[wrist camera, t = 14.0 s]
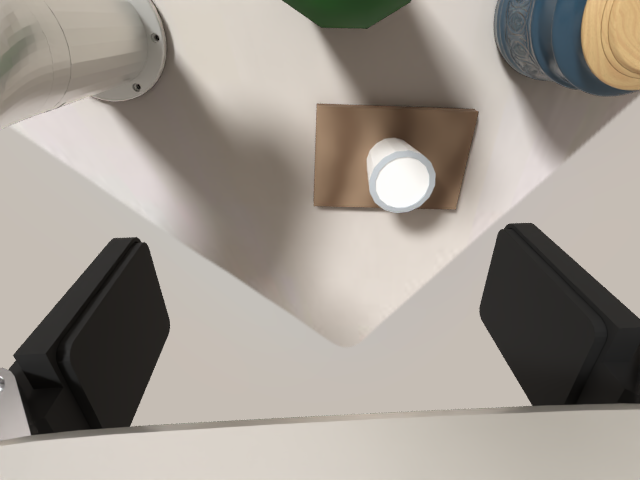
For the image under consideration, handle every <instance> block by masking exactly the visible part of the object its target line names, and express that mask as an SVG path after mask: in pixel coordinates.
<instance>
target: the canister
mask: <svg viewBox="0 0 640 480" xmlns="http://www.w3.org/2000/svg"><path fill="white" fill-rule="evenodd" d="M494 34H495V40H496V44H497V47H498V49H499V51H500V53H501V55H502V57H503V58H504V59H505V61H506V62H507V63H508V64H509V65H510V66H511V67H512V68H513V69H514V70H516V71H517V72H518V73H520V74H522V75H524V76H526V77H529V78H533V79H536V80H542V81H552V82H555V83H557V84H559V85H561V86H563V87H566V88H570V89H576V90H581V91H583V92H586V93H589V94H592V95H597V96H619V95H625V94H629V93H633V92H636V91H639V90H640V0H498V1H497V5H496V9H495V15H494Z"/></svg>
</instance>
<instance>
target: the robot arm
mask: <svg viewBox="0 0 640 480" xmlns="http://www.w3.org/2000/svg"><path fill="white" fill-rule="evenodd" d="M156 35H158V36H159V41H158V40H157V39H156ZM166 50H167V46H166V36H165V32H164V28H163V24H162V21H161V19H160V16H159V14H158V12H157V10H156V8H155V6H154V5H153V3H152V1H151V0H0V130H2V129H4V128H6V127H8V126H10V125H12V124H15V123H17V122H20V121H23V120H25V119H28V118H31V117H33V116H36V115H39V114H42V113H45V112H48V111H51V110H54V109H56V108H59V107H62V106H65V105H68V104H70V103H73V102H76V101H79V100H81V99H84V98H87V97H90V96H91V97H94V98H97V99H101V100H106V101H114V102H115V101H126V100H130V99H133V98H136V97H138V96H140V95H143V94H144V93H145V92H147V91H148V90H150V89H151V88H152V87H153V85H154V84H155V83H156V82H157V81H158V79H159V77H160V75H161V73H162V71H163V68H164V65H165V61H166ZM138 84H139V85H140V87H141V89H140V88H138ZM480 316H481V320H482V321H483V323H484V325H485V326H486V328H487V330H488V332H489V333H490V335H491V337H492V338H493V340H494V341H495V343H496V345H497V347H498V348H499V350H500V352H501V353H502V355H503V357H504V358H505V360H506V362H507V364H508V365H509V367H510V368H511V370H512V372H513V374H514V375H515V377H516V378H517V380H518V382H519V384H520V385H521V387H522V389H523V390H524V392H525V394H526V395H527V397H528V399H529V401H530V402H531V404H532V406H523V407H501V408H479V409H455V410H432V411H411V412H391V413H370V414H350V415H332V416H331V415H330V416H311V417H291V418H272V419H254V420H235V421H217V422H200V423H181V424H164V425H148V426H135V427H130V425H131V423H132V420H133V417H134V416H135V413H136V411H137V408H138V406H139V404H140V401H141V399H142V396H143V394H144V391H145V389H146V387H147V384H148V382H149V380H150V377H151V375H152V372H153V370H154V368H155V365H156V363H157V360H158V358H159V356H160V353H161V351H162V348H163V346H164V344H165V341H166V339H167V337H168V334H169V329H170V321H169V317H168V313H167V310H166V306H165V303H164V299H163V296H162V292H161V289H160V286H159V282H158V278H157V275H156V271H155V268H154V264H153V261H152V257H151V254H150V250H149V247H148V245H147V244H146V243H145V242H144V243H141V241H140V239H138V238H137V237H135V238H113V239H112V240H111V241H110V242H109V243H108V244H107V246H106V247H105V248H104V249H103V250H102V252H101V253H100V254H99V255H98V256H97V257H96V259H95V260H94V261H93V262H92V263H91V264H90V266H89V267H88V268H87V269H86V270H85V271H84V273H83V274H82V275H81V276H80V277H79V278H78V280H77V281H76V282H75V283H74V284H73V285H72V287H71V288H70V289H69V290H68V291H67V293H66V294H65V295H64V296H63V297H62V298H61V300H60V301H59V302H58V303H57V304H56V305H55V307H54V308H53V309H52V310H51V311H50V313H49V314H48V315H47V316H46V317H45V318H44V320H43V321H42V322H41V323H40V324H39V325H38V327H37V328H36V329H35V330H34V331H33V333H32V334H31V335H30V336H29V337H28V338H27V340H26V341H25V342H24V343H23V344H22V345H21V347H20V348H19V349H18V350H17V351H16V353H15V354H14V355H13V356H14V358H15V359H16V361H15V362H14V364H13V365H12V366H11V367H10V368H9V370H7V369H4V368H0V480H640V319H639V318H638V317H637V316H636V315H635V314H634V313H632V312H631V311H630V310H629V309H628V308H627V307H626V306H625V305H624V304H622V303H621V302H620V301H619V300H618V299H617V298H616V297H615V296H613V295H612V294H611V293H610V292H609V291H608V290H607V289H606V288H605V287H603V286H602V285H601V284H600V283H599V282H598V281H596V280H595V279H594V278H593V277H592V276H591V275H590V274H589V273H588V272H587V271H585V270H584V269H583V268H582V267H581V266H580V265H579V264H578V263H577V262H575V261H574V260H573V259H572V258H571V257H570V256H569V255H568V254H566V253H565V252H564V251H563V250H562V249H561V248H560V247H559V246H557V245H556V244H555V243H554V242H553V241H552V240H551V239H550V238H548V237H547V236H546V235H545V234H544V233H543V232H542V231H541V230H540V229H538V228H537V227H536V226H535V225H534V224H532V223H515V224H508V225H507V226H506V227H505V228H504V229H502V230H500V231H499V233H498V235H497V239H496V244H495V248H494V251H493V255H492V260H491V264H490V268H489V272H488V276H487V280H486V284H485V288H484V292H483V296H482V300H481V304H480Z"/></svg>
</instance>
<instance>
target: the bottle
mask: <svg viewBox="0 0 640 480" xmlns="http://www.w3.org/2000/svg"><path fill="white" fill-rule="evenodd" d="M282 1H284V2H285V3H287V4H288V5H290V6H291V7H292V8H294V9H295V10H297V11H298V12H300V13H301V14H302V15H304V16H305V17H307V18H308V19H310V20H311V21H313V22H314V23H315V24H317V25H318V26H320V27H321V28H363V29H367V28H369V27H370V26H372V25H374V24H375V23H377V22H379V21H380V20H382V19H384V18H385V17H387V16H389V15H390V14H392V13H393V12H395V11H397V10H398V9H400V8H402V7H403V6H405V5H407V4H408V3H410V1H411V0H282Z"/></svg>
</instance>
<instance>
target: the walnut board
mask: <svg viewBox="0 0 640 480" xmlns="http://www.w3.org/2000/svg"><path fill="white" fill-rule="evenodd" d="M478 113H479V112H478V111H476V110H475V109H460V108H430V107H401V106H372V105H342V104H317V112H316V144H315V176H314V206H333V207H375V208H381V207H380V206H378V205H377V204H376V203H375V202H374V200H373V198H372V196H371V194H370V191H369V182H368V173H367V157H368V154H369V151H370V150H371V149H372V148H373V146H374V145H375V144H376V143H378V142H380V141H382V140H384V139H387V138H397V139H401V140H404V141H405V142H406V143H408V144H409V145H410V146H412V147H413V148H414V149H416V150H417V151H419V152H420V153H421V154H422V155H424V156H425V157H426V158H427V159H428V160H429V161H430V162H431V163H432V166H433V168H434V171H435V173H436V175H435V187H434V189H433V191H432V193H431V195H430V197H429V198H428V199H427V200H426V201H425V202H424V203H423V204H422V205H421V206H420V207H418V209H456V206H457V201H458V197H459V193H460V189H461V184H462V180H463V176H464V172H465V167H466V163H467V159H468V155H469V151H470V146H471V142H472V138H473V134H474V129H475V125H476V121H477V117H478Z"/></svg>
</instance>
